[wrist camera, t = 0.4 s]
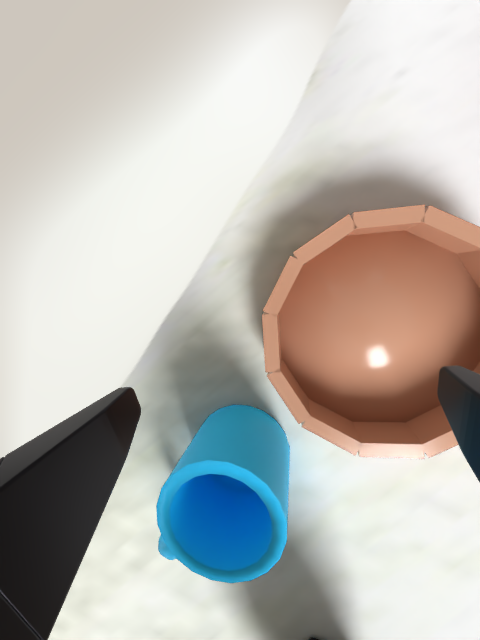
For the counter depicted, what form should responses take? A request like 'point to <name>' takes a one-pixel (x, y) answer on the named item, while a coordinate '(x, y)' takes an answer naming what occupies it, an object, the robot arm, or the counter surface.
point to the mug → (228, 497)
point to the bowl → (376, 329)
